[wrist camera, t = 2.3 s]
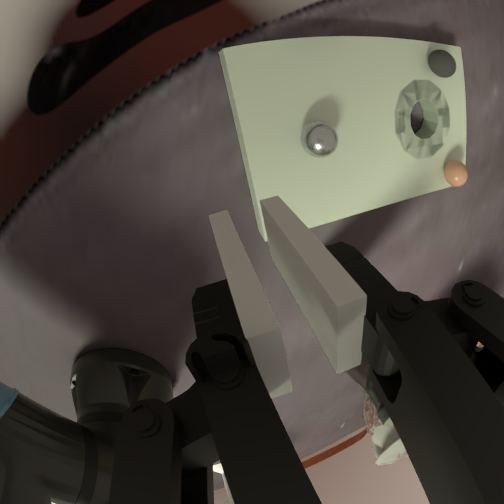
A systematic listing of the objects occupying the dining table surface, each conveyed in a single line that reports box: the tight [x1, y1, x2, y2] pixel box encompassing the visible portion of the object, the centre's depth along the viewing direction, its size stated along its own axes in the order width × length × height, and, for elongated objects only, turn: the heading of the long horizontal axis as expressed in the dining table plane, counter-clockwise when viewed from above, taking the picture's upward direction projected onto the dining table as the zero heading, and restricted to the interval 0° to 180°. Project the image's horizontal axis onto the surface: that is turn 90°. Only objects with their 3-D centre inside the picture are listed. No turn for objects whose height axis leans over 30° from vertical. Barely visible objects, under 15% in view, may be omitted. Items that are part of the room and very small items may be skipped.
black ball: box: [428, 49, 456, 78], centre depth 22 cm, size 3×3×3 cm
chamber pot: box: [362, 391, 409, 466], centre depth 47 cm, size 28×28×21 cm
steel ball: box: [300, 120, 339, 158], centre depth 24 cm, size 3×3×3 cm
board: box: [218, 36, 466, 242], centre depth 27 cm, size 28×18×2 cm, turn 102°
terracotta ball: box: [444, 160, 468, 187], centre depth 29 cm, size 3×3×3 cm
